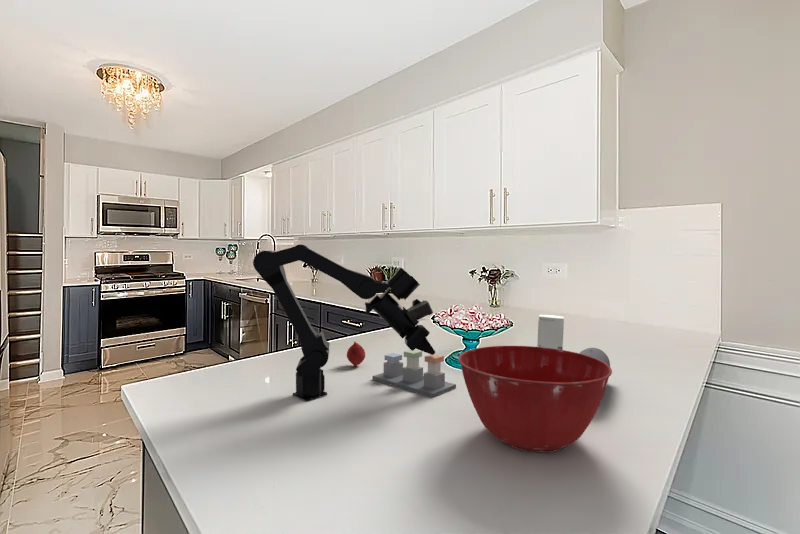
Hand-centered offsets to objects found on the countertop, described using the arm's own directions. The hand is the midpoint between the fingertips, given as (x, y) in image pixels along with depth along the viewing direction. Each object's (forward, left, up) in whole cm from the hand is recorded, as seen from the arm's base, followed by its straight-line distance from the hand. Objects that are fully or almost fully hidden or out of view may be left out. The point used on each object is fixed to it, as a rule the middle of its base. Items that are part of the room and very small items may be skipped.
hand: (434, 353), depth 112 cm
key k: (0, 0, -5) cm, 5 cm away
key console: (0, +7, -10) cm, 12 cm away
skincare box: (+51, -10, -10) cm, 53 cm away
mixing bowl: (-9, -32, -10) cm, 34 cm away
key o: (0, +15, -8) cm, 17 cm away
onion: (+1, +32, -10) cm, 34 cm away
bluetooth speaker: (+26, -31, -10) cm, 41 cm away
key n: (0, +7, -5) cm, 9 cm away
